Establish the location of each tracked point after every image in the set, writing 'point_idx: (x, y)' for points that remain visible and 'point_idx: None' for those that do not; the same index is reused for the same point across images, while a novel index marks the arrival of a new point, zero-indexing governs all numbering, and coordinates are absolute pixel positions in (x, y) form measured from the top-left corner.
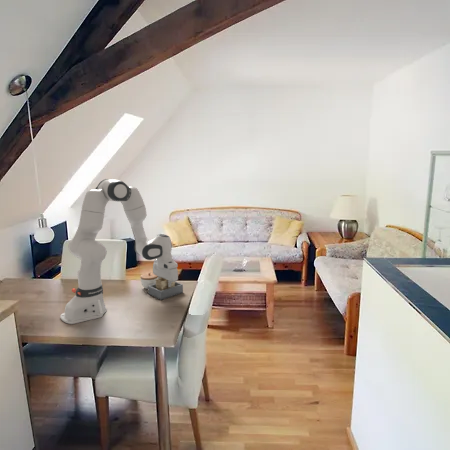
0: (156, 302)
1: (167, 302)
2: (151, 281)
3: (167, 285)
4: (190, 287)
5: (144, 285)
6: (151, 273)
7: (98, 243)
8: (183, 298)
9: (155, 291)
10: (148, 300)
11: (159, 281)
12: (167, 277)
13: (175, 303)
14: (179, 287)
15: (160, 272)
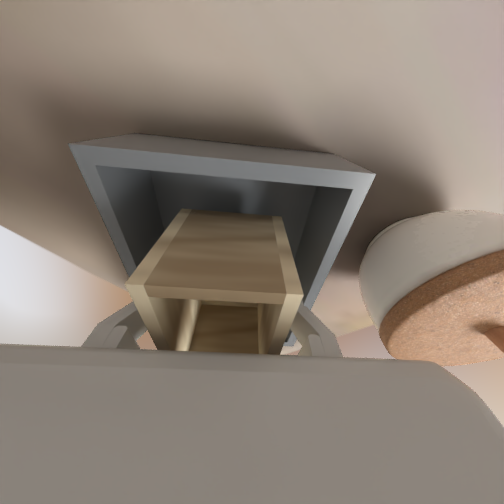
0: (92, 41)
1: (50, 136)
2: (402, 271)
3: None
4: None
5: (454, 211)
6: (481, 352)
7: None
8: (91, 256)
9: (207, 151)
10: (206, 7)
11: (197, 280)
12: (38, 399)
13: (3, 169)
14: None
15: (262, 471)
